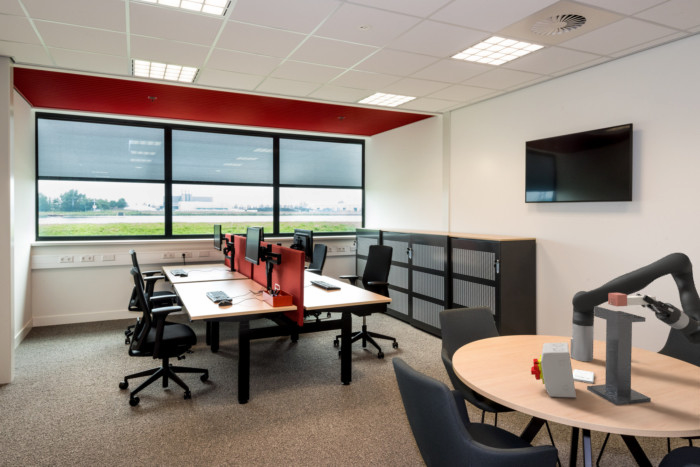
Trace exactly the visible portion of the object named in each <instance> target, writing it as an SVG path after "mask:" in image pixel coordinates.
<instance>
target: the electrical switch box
mask: <svg viewBox="0 0 700 467" xmlns="http://www.w3.org/2000/svg"><path fill="white" fill-rule="evenodd" d="M532 360H533V362H532V363H533V366H531V367H530V375H531V376H535V380H537V381H538V380H539V381H541V380H542V385H544V388H545V390H546V392H547V393H548V395H549V397H551V398H576V397H577V396H576V394H577V393H576V386H575V381H574V379H573V367H572V360H571V357H570V348H569V342H567V341H566V342H544V343H543V345H542V349H541V354H539V359H538V358H533V359H532Z"/></svg>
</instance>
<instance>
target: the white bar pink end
mask: <svg viewBox="0 0 700 467" xmlns="http://www.w3.org/2000/svg"><path fill="white" fill-rule="evenodd" d="M641 295H642V294H641ZM644 295H645V294H644ZM644 295H642V296H636V295H626V294H622V293H608V303H607V305H610V306H613V307H629V306H641V305H647V304H649V303H647V302H645V301H644V300H643V297H644ZM646 295H647V296H649V297H650V298H652V299H655V300H657V299H656V298H657V296H656V295H655V296H654V295H650V294H646Z"/></svg>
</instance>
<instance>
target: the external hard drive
mask: <svg viewBox="0 0 700 467" xmlns="http://www.w3.org/2000/svg"><path fill="white" fill-rule="evenodd" d="M572 373H573V379H574V382H580V383H587V384H592V385H593V384H594V380H595V372H593V371H588V370H584V369H583V370H582V369H581V370H580V369H576V368H575V369H572Z"/></svg>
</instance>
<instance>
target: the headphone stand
mask: <svg viewBox="0 0 700 467" xmlns="http://www.w3.org/2000/svg"><path fill="white" fill-rule="evenodd" d="M594 317H596V318H600V319H602V320H606V322H605V324H606V325H605V326H606V328H605V333H606V335H605V340H606V341H605V384H595V385H593V384H592V385H587V386H586V389H587V391H589V392H591V393H593V394H594V395H597V396H598V397H600V398H601V399H603V400H606V401H607V402H609V403H611V404H613V405H614V406H623V405H624V406H625V405H634V404H644V403H651V402H652V401H651V400H652V399H651V397H650V396H648V395H645V394H643V393H641V392H638V391H637V390H634V389H633V388H632V352H633V351H632V347H633V346H632V344H633V343H632V341H633V337H632V336H633V323H642V322H643V323H644V322H646V316H645V317H644V316H641V315H637V314H633V313H630V312H629V313H628V312H625V311H621V310H612V309H609V308H605V307H602V306H594Z"/></svg>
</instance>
